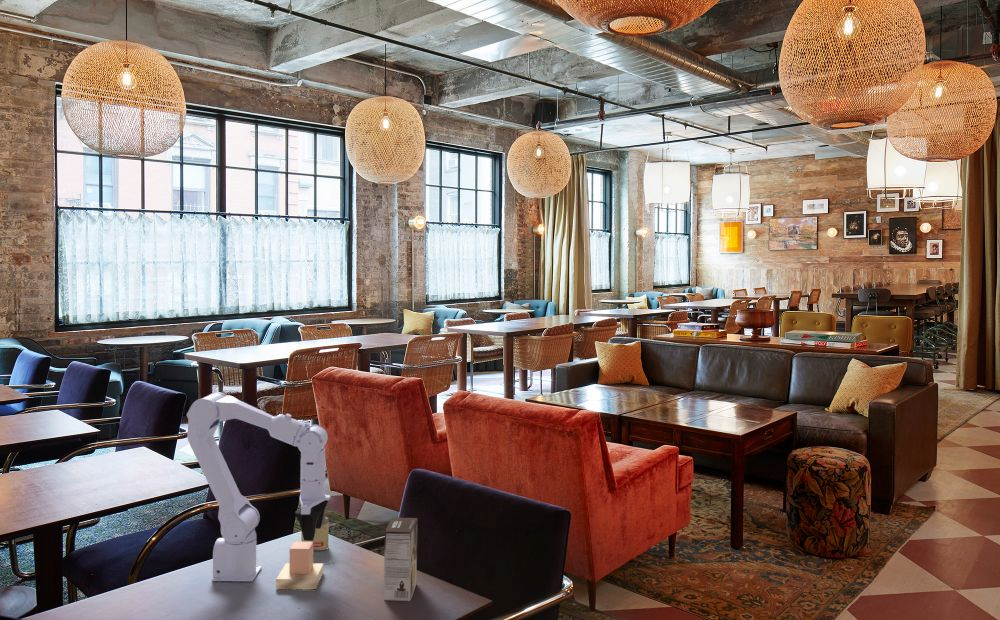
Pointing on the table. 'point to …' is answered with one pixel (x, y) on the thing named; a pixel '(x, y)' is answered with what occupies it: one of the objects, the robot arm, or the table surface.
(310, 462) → the robot arm
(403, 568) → the coffee box
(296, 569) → the terracotta block
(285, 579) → the birch block
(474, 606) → the table surface
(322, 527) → the yellow package
